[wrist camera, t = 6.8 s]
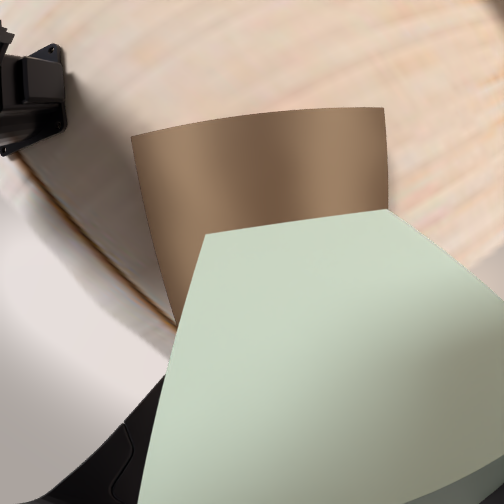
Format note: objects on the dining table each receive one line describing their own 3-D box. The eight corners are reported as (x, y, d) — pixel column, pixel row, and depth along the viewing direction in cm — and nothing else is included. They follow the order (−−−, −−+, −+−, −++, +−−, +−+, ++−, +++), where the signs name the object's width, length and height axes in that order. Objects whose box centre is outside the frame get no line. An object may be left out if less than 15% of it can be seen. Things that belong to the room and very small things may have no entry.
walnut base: (192, 308, 21) (183, 344, 18) (154, 133, 16) (130, 136, 13) (360, 286, 21) (380, 318, 17) (355, 109, 16) (383, 107, 12)
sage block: (238, 370, 10) (238, 572, 4) (205, 234, 8) (133, 525, 2) (378, 346, 10) (455, 520, 3) (386, 208, 8) (584, 389, 1)
